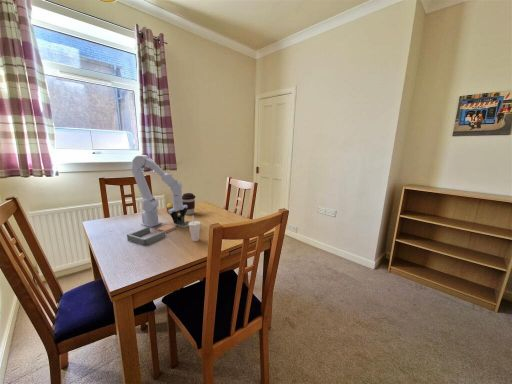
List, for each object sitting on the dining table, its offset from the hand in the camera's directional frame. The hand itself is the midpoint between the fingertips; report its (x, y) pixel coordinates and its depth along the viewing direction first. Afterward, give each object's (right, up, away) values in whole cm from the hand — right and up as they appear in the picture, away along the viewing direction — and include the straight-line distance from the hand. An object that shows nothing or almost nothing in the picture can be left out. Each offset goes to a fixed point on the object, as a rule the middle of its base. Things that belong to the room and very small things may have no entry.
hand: (179, 221), depth 139 cm
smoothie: (+17, -7, -23) cm, 30 cm away
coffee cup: (0, +3, +21) cm, 21 cm away
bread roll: (-14, +4, +25) cm, 29 cm away
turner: (+2, -2, 0) cm, 3 cm away
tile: (-4, -4, -10) cm, 12 cm away
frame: (-10, -6, -21) cm, 24 cm away
